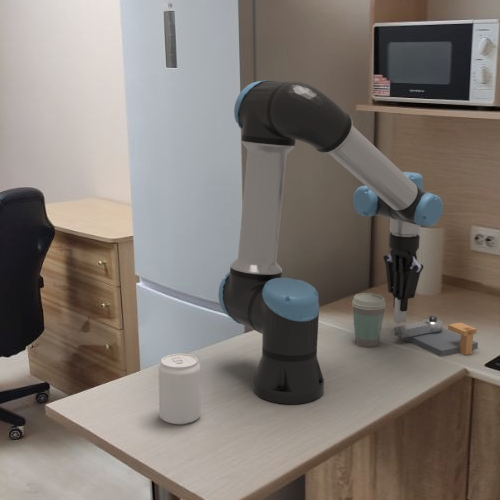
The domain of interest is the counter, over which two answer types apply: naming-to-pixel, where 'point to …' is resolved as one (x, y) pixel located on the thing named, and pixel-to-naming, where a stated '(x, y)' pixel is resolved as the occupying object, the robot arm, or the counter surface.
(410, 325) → the link
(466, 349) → the block
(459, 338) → the board
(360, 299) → the coffee cup
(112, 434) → the counter surface
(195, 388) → the beverage can
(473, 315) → the counter surface
